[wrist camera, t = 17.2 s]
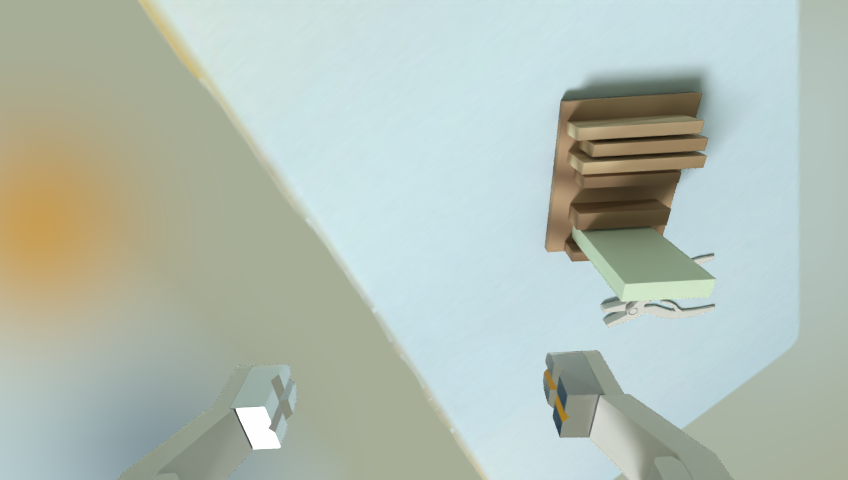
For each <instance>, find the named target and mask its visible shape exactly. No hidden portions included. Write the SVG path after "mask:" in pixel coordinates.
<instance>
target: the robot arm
mask: <svg viewBox="0 0 848 480" xmlns="http://www.w3.org/2000/svg"><path fill="white" fill-rule="evenodd" d="M545 362H546V365H547V368H548V369H547V370H546V371H545V372H544V377H543V384H544V392H545V396H546V399H547V402H548V404H549V405H550V406H551V407H553V408H554V411H553V420H554V422H555V425H556V428H557V431H558V434H559V437H560V438H562V437H589V439H590V440H591V441H592V442H593V443H594V444H595V445H596V446H597V447H598V448H599V449H600V450H601V451H602V452H603V453H604V454H605V455H606V456H607V458H608V459H609V460H610V461H611V462H612V463H613V464H614V465H615V466H616V467H617V468H618V469H619V470H620V471H621V472H622V473H623V474H624V475H625V476H626V477H627V478H628V479H629V480H734V479H733V478H732V477H731V475H730V474H729V472H728V471H727V469H726V468H725V467H724V465H723V464H722V463H721V461H720V460H719V458H718V457H717V455H716V454H715V453H713V452H712V451H711V450H709V449H708V448H706V447H705V446H703V445H702V444H700V443H699V442H698V441H696V440H695V439H693V438H692V437H690V436H689V435H688V434H686V433H685V432H683V431H682V430H680V429H679V428H677V427H676V426H675V425H673V424H672V423H670V422H669V421H667V420H666V419H665V418H663V417H662V416H660V415H659V414H657V413H656V412H654V411H653V410H652V409H650V408H649V407H647V406H646V405H644V404H643V403H642V402H640V401H639V400H637V399H636V398H634V397H633V396H631V395H630V394H624V393H623V391H622V389H621V388H620V386H619V384H618V382H617V381H616V379H615V377H614V376H613V374H612V372H611V370H610V369H609V367H608V365H607V364H606V362H605V360H604V358H603V357H602V355H601V353H600V352H599V351H597V350H594V351H573V352H554V353H548V354H547V355H546V361H545ZM290 374H291V370H290V368H289V365H286V364H275V365H274V364H272V365H271V364H270V365H239V366H238V367H237V368H236V369H235V370H234V372H233V373H232V375H231V377H230V378H229V380H228V382H227V383H226V386H225V387H224V388H223V390H222V392H221V394H220V395H219V397H218V399H217V400H216V402H215V404H214V406H213V407H212V409H211V410H206V411H204V412H203V413H202V414H201V415H199V416H198V417H196V418H195V419H194V420H193V421H191V422H190V423H189V424H187V425H186V426H185V427H183V428H182V429H181V430H179V431H178V432H177V433H175V434H174V435H173V436H171V437H170V438H169V439H167V440H166V441H165V442H163V443H162V444H161V445H159V446H158V447H157V448H155V449H154V450H153V451H151V452H150V453H149V454H147V455H146V456H145V457H144V458H142V459H141V460H139V461H138V462H137V463H135V464H134V465H133V466H132V467H130V468H129V469H127V470H126V471H125V472H123V473H122V475H121V476H120V477H119V479H118V480H226V479H227V478H228V477H229V476H230V475H231V474H232V473H233V472H234V471H235V469H236V468H237V467H238V466H239V465H240V464H241V463H242V462H243V461H244V460H245V459H246V457H247V456H248V455H249V454H250V453H251V452H252V449H262V448H278V447H281V444H282V441H283V439H284V436H285V433H286V430H287V428H288V425H287V423H286V419H287V418H288V417H289V416H290V415H291V414H292V413H293V411H294V408H295V405H296V398H297V391H296V386H295V383H294V382H293V381H292V380H291V379H289V377H290Z"/></svg>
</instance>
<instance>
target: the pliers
mask: <svg viewBox="0 0 848 480" xmlns="http://www.w3.org/2000/svg"><path fill="white" fill-rule="evenodd" d="M713 259H714V256H713V255H708V256H702V257H698V258H694V259H692V260H693V261H694V262H696V263H697V264H698V265H700V264H702V263H705V262H707V261H710V260H713ZM649 302H651V300H644V301H625V302H621V301H620V300H616V301H612V302H608V303H604V304H601V306H600V308H601V309H602V311H603V312H604V313H607V312H616V313H614V314H612V315H610V316H608V317H606V318H604V319H603V321H604V322H605V324H606V325H607V327H611V326H614V325H618V324H621V323H624V322H627V321H630V320H633V319H635V318H637V317H639V316H641V315H642V314H643V313H647V314H652V315H655V316H657V317H662V318H685V317H691V316H696V315H700V314H703V313H706V312H709V311H711V310H714V309H715V306H713V305H711V306H706V307H700V308H694V309H684V310H680V309H679V308H678V307H677V306H676V305H675V304H673V303H672V302H669V301H666V300H660V302H661V303H666V304H669V305H671V306H673V308H674V310H670V309H665V308H662V307H659V306H656V305H646V306H645V304H647V303H649Z"/></svg>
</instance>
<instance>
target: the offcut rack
mask: <svg viewBox="0 0 848 480" xmlns="http://www.w3.org/2000/svg"><path fill="white" fill-rule="evenodd" d="M701 96H702V93H698V92H685V93H670V94H654V95H639V96H623V97H608V98H592V99H577V100H562V101H561V103H560V112H559V121H558V131H557V140H556V149H555V158H554V167H553V177H552V186H551V195H550V204H549V213H548V223H547V232H546V241H545V249H546V250H547V252H558V251H565V252H566V253H567V255H568V256H569V258H570V259H571V261H572V262H573V261H590V260H589V259H588V258H587V256H586V255H585V254H584V252H583V251H582V250H581V248H580V247H579V246H578V245H577V243H576V242H575V241H574V239H573V238H572V237H571V236H572V229H573V226H574V227H575V228H576V230H589V229H607V228H625V227H644V226H651V227H652V228H653V229H654V230H656V231H657V232H658V233H659V234H661V235H662V236H663V232H664V229H665V225H667V222H668V218H669V214H670V211H671V209H670V207H671V204H672V200H673V196H674V193H675V189H676V186H677V183H678V182H679V179H680V175H681V172H680V171H681V169H686V168H703V167H704V163H705V160H706V157H707V156H706V155H704V154H701V153H699V152H696V151H702V150H705V148H706V144H707V141H708V138H707V137H703V136H700V135H697V134H695V133H701V131H702V128H703V124H704V120H701V119H697V118H696V114H697V110H698V107H699V103H700V100H701Z"/></svg>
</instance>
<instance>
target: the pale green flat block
mask: <svg viewBox="0 0 848 480" xmlns="http://www.w3.org/2000/svg"><path fill="white" fill-rule="evenodd" d="M571 237H572V238H573V239H574V241H575V242H576V243H577V245H578V246H579V247H580V248H581V250H582V251H583V252H584V254H585V255H586V256H587V258H588V259H589V260H590V262H591V263H592V264H593V265H594V267H595V268H596V269H597V271H598V272H599V273H600V275H601V276H602V277H603V278H604V280H605V281H606V282H607V284H608V285H609V286H610V288H611V289H612V290H613V291H614V293H615V294H616V295H617V297H618V298H619V299H620V301H621V302H625V301H644V300H664V299H683V298H702V297H710V295H711V292H712V289H713V287H714V284H715V281H716V278H714V277H713V276H712V275H711V274H709V273H708V272H707V271H706V270H704V269H703V268H702V267H701V266H699V265H698V264H697V263H696V262H694V261H693V260H692V259H691V258H689V257H688V256H687V255H686V254H684V253H683V252H682V251H681V250H679V249H678V248H677V247H676V246H674V245H673V244H672V243H671V242H669V241H668V240H667V239H666V238H664V237H663V236H662V235H661V234H659V233H658V232H657V231H656V230H654V229H653V228H652V227H651V226H644V227H625V228H607V229H589V230H576V228H575V227H574V226H573V229H572V236H571Z"/></svg>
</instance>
